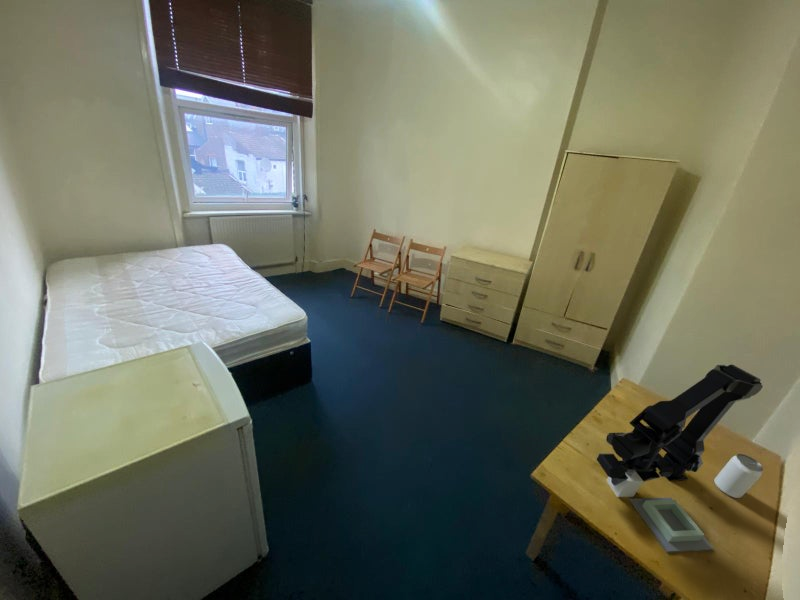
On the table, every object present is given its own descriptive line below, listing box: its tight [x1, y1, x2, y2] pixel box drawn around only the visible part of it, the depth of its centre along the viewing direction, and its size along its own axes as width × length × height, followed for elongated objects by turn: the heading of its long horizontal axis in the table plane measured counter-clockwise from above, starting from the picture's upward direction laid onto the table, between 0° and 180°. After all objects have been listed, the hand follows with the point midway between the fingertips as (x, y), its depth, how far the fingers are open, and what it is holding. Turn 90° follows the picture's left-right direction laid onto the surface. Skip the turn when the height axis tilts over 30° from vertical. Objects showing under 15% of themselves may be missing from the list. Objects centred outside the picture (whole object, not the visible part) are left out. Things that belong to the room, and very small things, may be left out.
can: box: [713, 453, 764, 499], centre depth 95 cm, size 6×6×12 cm
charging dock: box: [629, 497, 714, 553], centre depth 86 cm, size 13×13×3 cm
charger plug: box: [605, 470, 644, 498], centre depth 93 cm, size 5×5×8 cm
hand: (622, 483), depth 94 cm, fingers open, 6 cm apart
